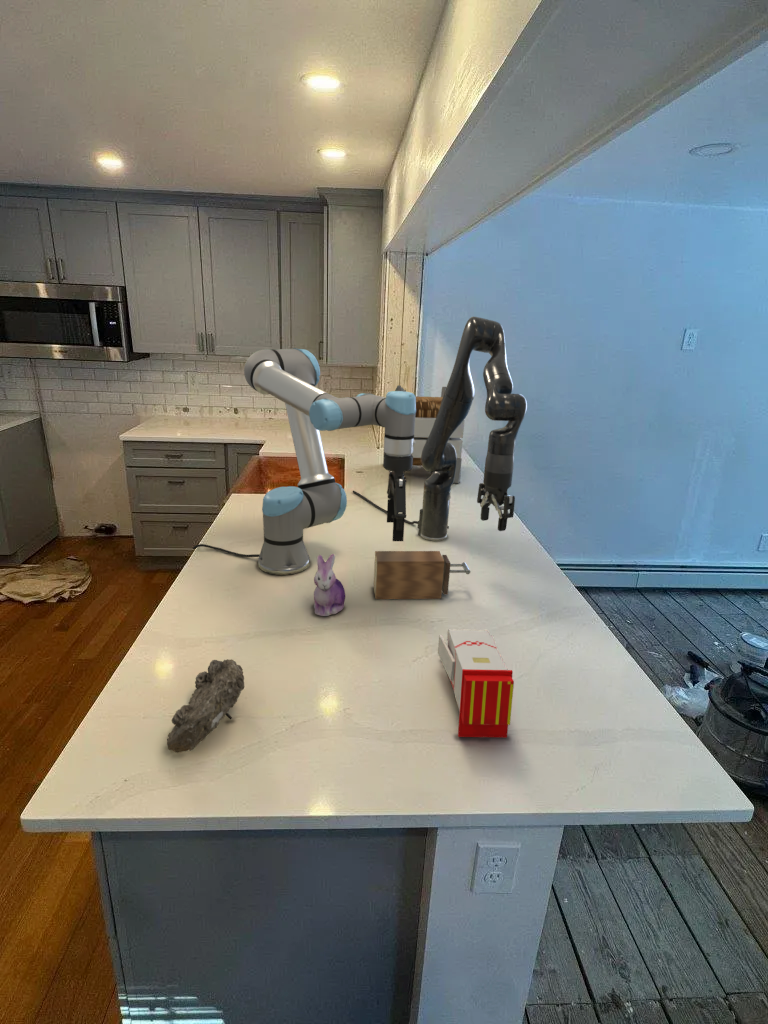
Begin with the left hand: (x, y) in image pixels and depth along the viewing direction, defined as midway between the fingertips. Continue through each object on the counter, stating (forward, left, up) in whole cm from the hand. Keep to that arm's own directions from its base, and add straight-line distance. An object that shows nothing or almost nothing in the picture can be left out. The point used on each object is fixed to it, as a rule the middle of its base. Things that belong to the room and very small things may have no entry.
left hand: (394, 531), depth 152 cm
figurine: (-11, -15, -19) cm, 27 cm away
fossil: (-12, -62, -19) cm, 66 cm away
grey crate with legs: (-34, +120, -19) cm, 126 cm away
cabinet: (+4, +2, -19) cm, 19 cm away
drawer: (+9, +5, -18) cm, 20 cm away
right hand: (+23, +16, +1) cm, 28 cm away
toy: (+31, -33, -19) cm, 49 cm away
